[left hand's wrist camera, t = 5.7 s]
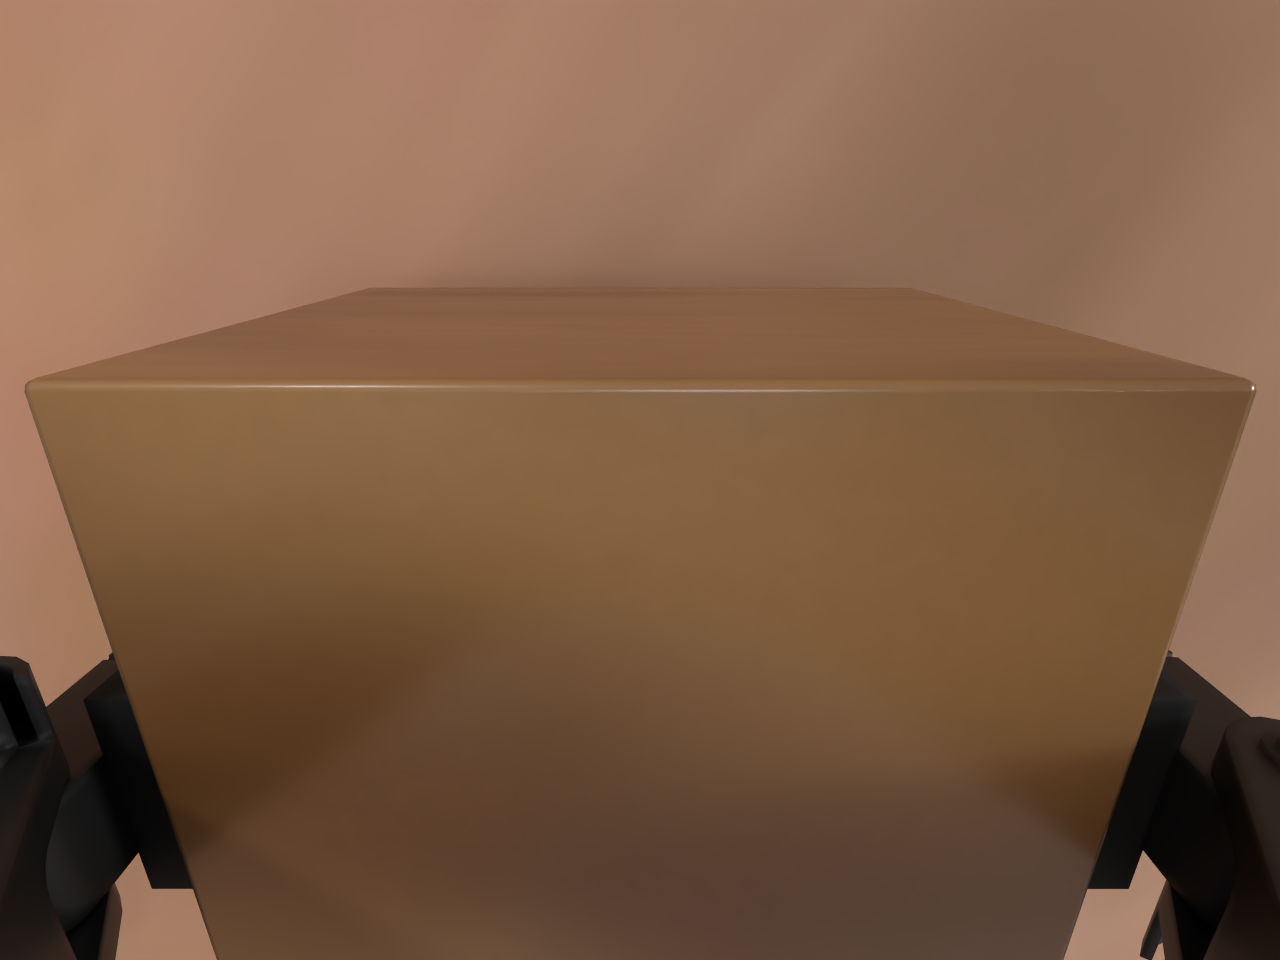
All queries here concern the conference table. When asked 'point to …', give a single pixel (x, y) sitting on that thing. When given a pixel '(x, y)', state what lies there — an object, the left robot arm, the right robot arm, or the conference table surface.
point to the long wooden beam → (640, 614)
